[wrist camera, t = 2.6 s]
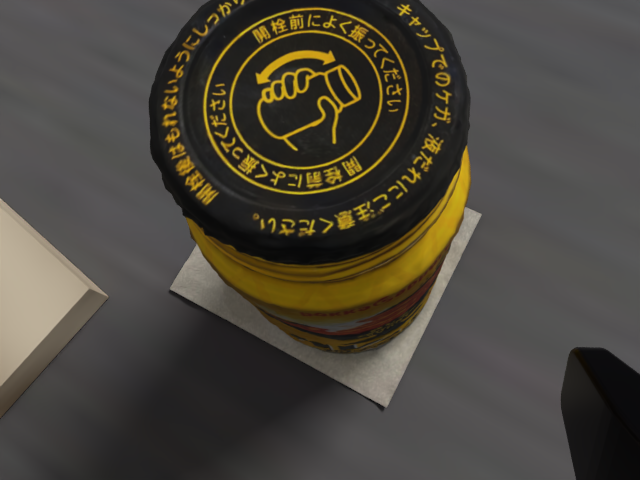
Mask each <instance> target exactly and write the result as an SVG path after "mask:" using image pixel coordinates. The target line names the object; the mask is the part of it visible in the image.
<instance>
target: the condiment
mask: <svg viewBox="0 0 640 480" xmlns="http://www.w3.org/2000/svg"><path fill="white" fill-rule="evenodd" d="M149 115H150V136H151V139H150V150H151V155H152V158H153V160H154V162H155V163H156V165H157V166H158V168H159V169H160V171H161V173H162V180H163V182H164V185H165V188H166V190H168V191H169V192H170V193H171V194H172V196H173V198H174V200H175V202H176V203H177V205H179V206H180V207H181V208H182V212H183V216H185V217H186V220H187V223H188V225H189V229H190V234H191V238H192V239H193V240H194V241H195V242H196V243H197V245H196V247H195V248H194V250H193V252H192V254H191V255H190V257H189V259H188V260H187V261H186V263H185V264H184V266H183V267H182V269H181V271H180V272H179V274H178V276H177V277H176V279H175V281H174V283H173V284H172V286H171V288H170V289H171V290H172V291H174V292H176V293H178V294H180V295H182V296H183V297H185V298H187V299H189V300H191V301H193V302H194V303H196V304H198V305H200V306H202V307H204V308H205V309H207V310H209V311H211V312H213V313H215V314H216V315H218V316H220V317H222V318H224V319H226V320H228V321H230V322H231V323H233V324H235V325H236V326H238V327H240V328H242V329H244V330H246V331H247V332H249V333H251V334H253V335H255V336H257V337H258V338H260V339H262V340H264V341H266V342H267V343H269V344H271V345H273V346H275V347H277V348H278V349H280V350H282V351H284V352H286V353H288V354H289V355H291V356H293V357H295V358H297V359H298V360H300V361H302V362H304V363H306V364H308V365H309V366H311V367H313V368H315V369H317V370H319V371H320V372H322V373H324V374H326V375H328V376H330V377H331V378H333V379H335V380H337V381H339V382H341V383H342V384H344V385H346V386H348V387H350V388H352V389H353V390H355V391H357V392H359V393H361V394H362V395H364V396H366V397H368V398H370V399H372V400H373V401H375V402H377V403H379V404H381V405H383V406H385V407H386V408H387V406H388V404H389V402H390V400H391V398H392V396H393V394H394V392H395V390H396V388H397V386H398V384H399V381H400V379H401V377H402V375H403V374H404V372H405V369H406V367H407V365H408V363H409V361H410V359H411V357H412V355H413V353H414V351H415V349H416V347H417V345H418V343H419V341H420V339H421V337H422V335H423V333H424V331H425V329H426V327H427V325H428V323H429V321H430V318H431V316H432V314H433V312H434V310H435V308H436V306H437V304H438V302H439V300H440V298H441V296H442V294H443V292H444V290H445V288H446V286H447V284H448V282H449V280H450V278H451V276H452V274H453V272H454V270H455V268H456V266H457V264H458V262H459V260H460V258H461V255H462V253H463V251H464V249H465V247H466V245H467V243H468V241H469V239H470V237H471V235H472V233H473V231H474V229H475V227H476V225H477V223H478V221H479V219H480V217H481V215H482V214H480V213H477V212H475V211H473V210H471V209H469V208H466V207H465V206H466V203H467V200H468V196H469V190H470V186H471V172H470V161H469V156H468V150H467V139H468V130H469V128H470V123H469V117H470V92H469V89H468V86H467V75H466V73H465V70H464V67H463V65H462V63H461V57H460V56H459V54H458V51H457V49H456V47H455V44H454V41H453V38H452V34H451V33H450V31H449V30H448V29H447V28H446V27H445V26H444V25H443V24H442V23H441V22H440V21H439V20H438V19H437V18H436V16H435V15H434V14H433V13H432V12H430V11H429V10H428V9H427V8H426V7H425V6H424V5H423V4H422V3H421V2H420V1H419V0H210V1H208V2H207V3H205V4H204V5H202V6H201V7H200V8H199V9H198V11H197V12H196V13H195V14H194V15H193V16H192V17H191V19H190V20H189V21H188V22H187V23H186V24H185V25H184V27H183V28H182V29H181V31H180V32H179V34H178V36H177V38H176V39H175V40H174V42H173V43H172V44H171V46H170V47H169V48H168V49H167V51H166V52H165V54H164V57H163V59H162V61H161V64H160V66H159V68H158V71H157V73H156V76H155V81H154V83H153V85H152V89H151V94H150V98H149Z"/></svg>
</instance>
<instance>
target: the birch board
mask: <svg viewBox="0 0 640 480" xmlns="http://www.w3.org/2000/svg"><path fill="white" fill-rule="evenodd" d="M108 298H109V297H108V296H107V295H106V294H105V293H104V292H103V291H102V290H101V289H100V288H98V287H97V286H96V285H95V284H94V283H93V282H92V281H91V280H90V279H89V278H87V277H86V276H85V275H84V274H83V273H82V272H81V271H80V270H79V269H78V268H76V267H75V266H74V265H73V264H72V263H71V262H70V261H69V260H68V259H67V258H65V257H64V256H63V255H62V254H61V253H60V252H59V251H58V250H57V249H56V248H54V247H53V246H52V245H51V244H50V243H49V242H48V241H47V240H46V239H45V238H43V237H42V236H41V235H40V234H39V233H38V232H37V231H36V230H35V229H34V228H32V227H31V226H30V225H29V224H28V223H27V222H26V221H25V220H24V219H23V218H21V217H20V216H19V215H18V214H17V213H16V212H15V211H14V210H13V209H12V208H10V207H9V206H8V205H7V204H6V203H5V202H4V201H3V200H2V199H1V198H0V418H1V417H2V416H3V415H4V414H5V412H6V411H7V410H8V409H9V408H10V407H11V406H12V405H13V403H14V402H15V401H16V400H17V399H18V398H19V397H20V396H21V395H22V393H23V392H24V391H25V390H26V389H27V388H28V387H29V386H30V385H31V383H32V382H33V381H34V380H35V379H36V378H37V377H38V376H39V375H40V373H41V372H42V371H43V370H44V369H45V368H46V367H47V366H48V364H49V363H50V362H51V361H52V360H53V359H54V358H55V357H56V356H57V354H58V353H59V352H60V351H61V350H62V349H63V348H64V347H65V346H66V344H67V343H68V342H69V341H70V340H71V339H72V338H73V337H74V336H75V334H76V333H77V332H78V331H79V330H80V329H81V328H82V327H83V325H84V324H85V323H86V322H87V321H88V320H89V319H90V318H91V317H92V315H93V314H94V313H95V312H96V311H97V310H98V309H99V308H100V307H101V305H102V304H103V303H104V302H105V301H106V300H107V299H108Z"/></svg>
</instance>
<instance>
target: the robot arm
mask: <svg viewBox="0 0 640 480" xmlns="http://www.w3.org/2000/svg"><path fill="white" fill-rule="evenodd" d="M561 410H562V415H563V420H564V424H565V429H566V434H567V438H568V443H569V448H570V453H571V457H572V462H573V467H574V471H575V476H576V480H640V374H639V373H637V372H636V371H635V370H633V369H632V368H631V367H629V366H628V365H627V364H626V363H624V362H623V361H622V360H620V359H619V358H618V357H616V356H615V355H614V354H612V353H611V352H609V351H608V350H606V349H604V348H590V347H576V348H574V349H573V350H571V352H570V354H569V357H568V361H567V366H566V371H565V376H564V381H563V386H562V391H561Z"/></svg>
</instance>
